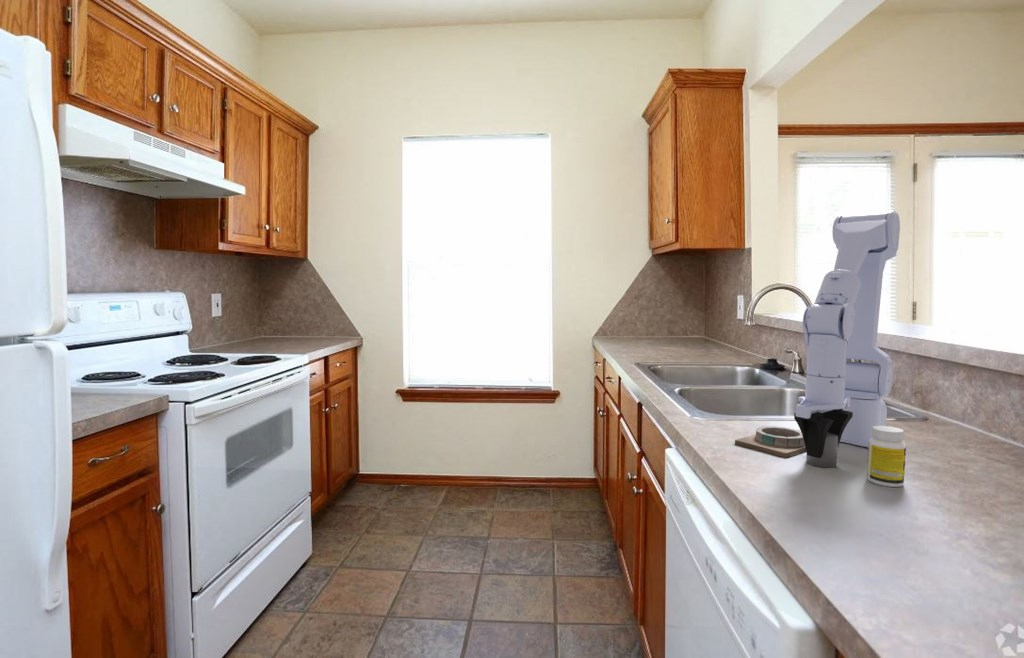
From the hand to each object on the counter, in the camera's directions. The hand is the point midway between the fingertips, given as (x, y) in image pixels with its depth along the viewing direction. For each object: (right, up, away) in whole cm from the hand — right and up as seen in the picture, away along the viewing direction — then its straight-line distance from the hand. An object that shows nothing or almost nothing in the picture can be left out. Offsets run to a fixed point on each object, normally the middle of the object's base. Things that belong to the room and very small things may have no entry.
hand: (821, 453), depth 92 cm
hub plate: (-2, -1, +11) cm, 11 cm away
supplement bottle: (+5, -3, -9) cm, 10 cm away
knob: (0, -2, 0) cm, 2 cm away
